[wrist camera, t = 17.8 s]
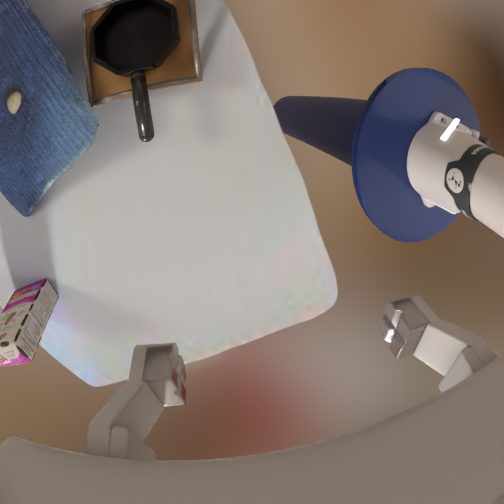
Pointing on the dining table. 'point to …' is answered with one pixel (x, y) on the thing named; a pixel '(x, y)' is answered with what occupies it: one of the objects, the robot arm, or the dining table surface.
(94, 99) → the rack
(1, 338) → the candy bar box
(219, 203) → the dining table surface
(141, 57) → the pan
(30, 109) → the blue piece
